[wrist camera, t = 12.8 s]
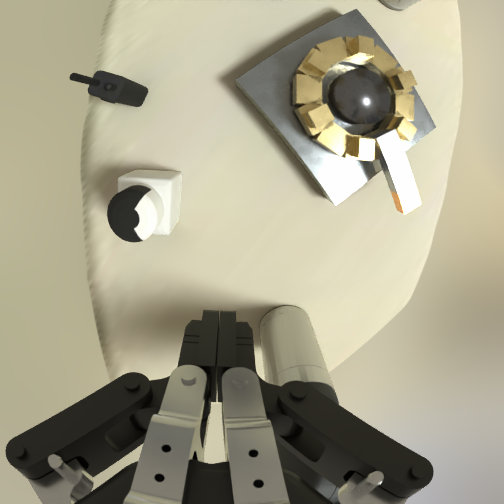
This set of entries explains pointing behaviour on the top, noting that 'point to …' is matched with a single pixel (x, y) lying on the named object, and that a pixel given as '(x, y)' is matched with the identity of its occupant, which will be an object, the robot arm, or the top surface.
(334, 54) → the segmented ring
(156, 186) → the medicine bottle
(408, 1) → the travel mug
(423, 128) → the domed button plate
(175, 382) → the robot arm
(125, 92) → the walkie-talkie
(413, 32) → the top surface
